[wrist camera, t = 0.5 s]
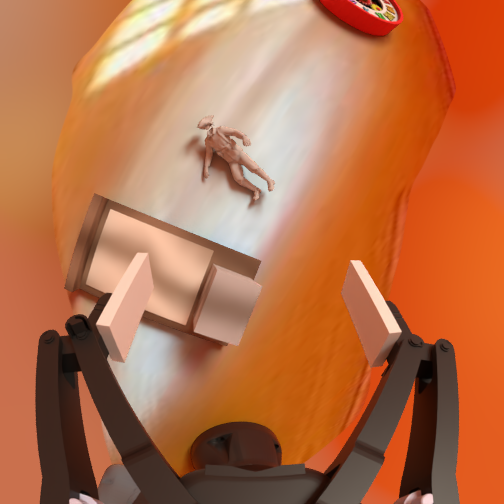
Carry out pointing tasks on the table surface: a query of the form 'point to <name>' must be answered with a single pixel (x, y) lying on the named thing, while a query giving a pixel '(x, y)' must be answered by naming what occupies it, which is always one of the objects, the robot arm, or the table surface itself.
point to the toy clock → (367, 14)
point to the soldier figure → (231, 154)
